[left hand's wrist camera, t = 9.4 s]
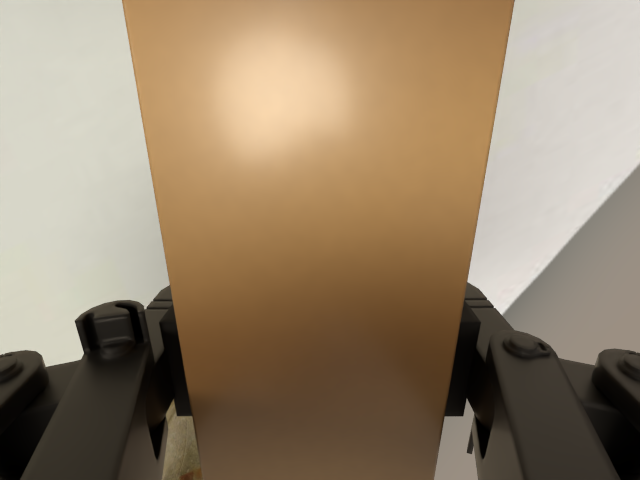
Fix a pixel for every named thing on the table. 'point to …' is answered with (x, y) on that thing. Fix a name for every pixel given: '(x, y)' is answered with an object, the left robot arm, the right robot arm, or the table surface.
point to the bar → (318, 219)
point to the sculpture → (181, 448)
